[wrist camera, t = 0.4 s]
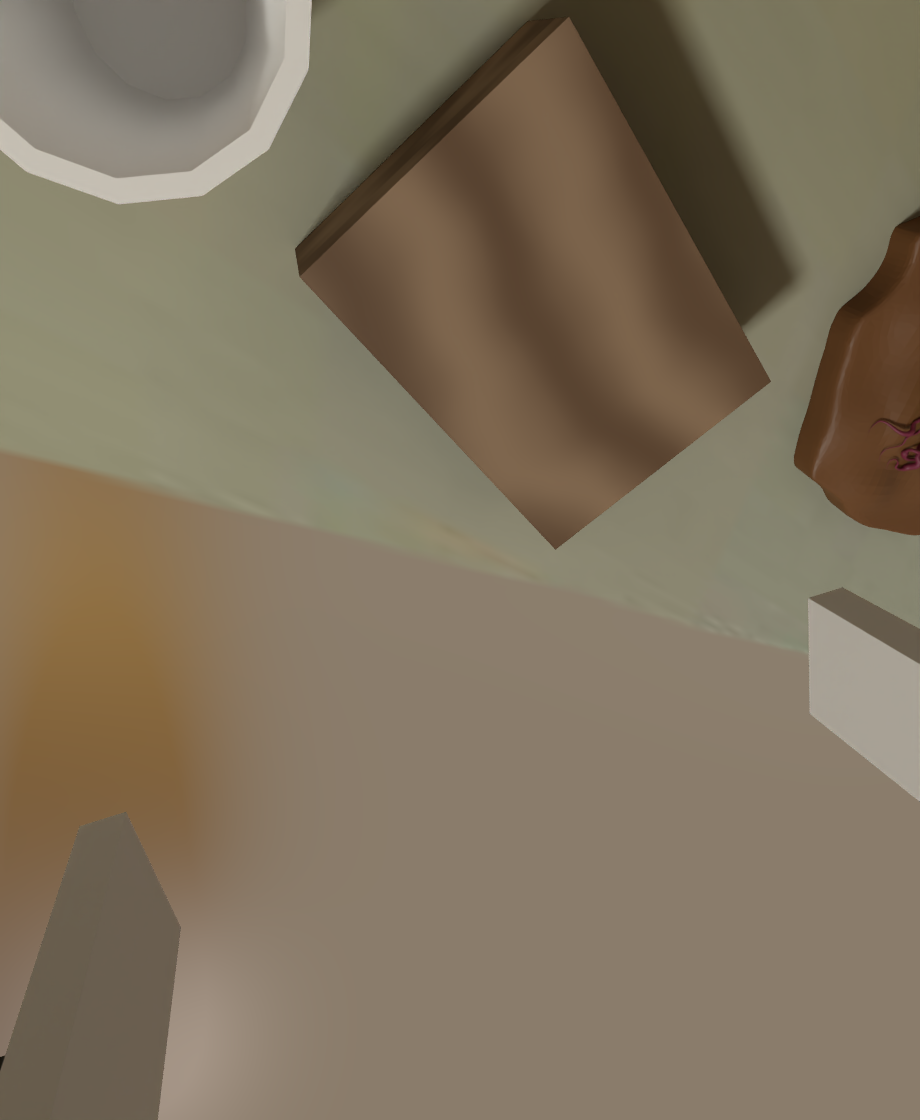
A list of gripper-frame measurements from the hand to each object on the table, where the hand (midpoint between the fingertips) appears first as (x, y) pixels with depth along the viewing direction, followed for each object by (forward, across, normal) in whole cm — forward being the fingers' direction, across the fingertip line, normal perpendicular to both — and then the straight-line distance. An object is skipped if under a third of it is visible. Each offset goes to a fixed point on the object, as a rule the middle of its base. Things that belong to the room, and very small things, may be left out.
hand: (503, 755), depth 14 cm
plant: (+26, +36, -4) cm, 44 cm away
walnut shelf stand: (+25, +10, +5) cm, 28 cm away
